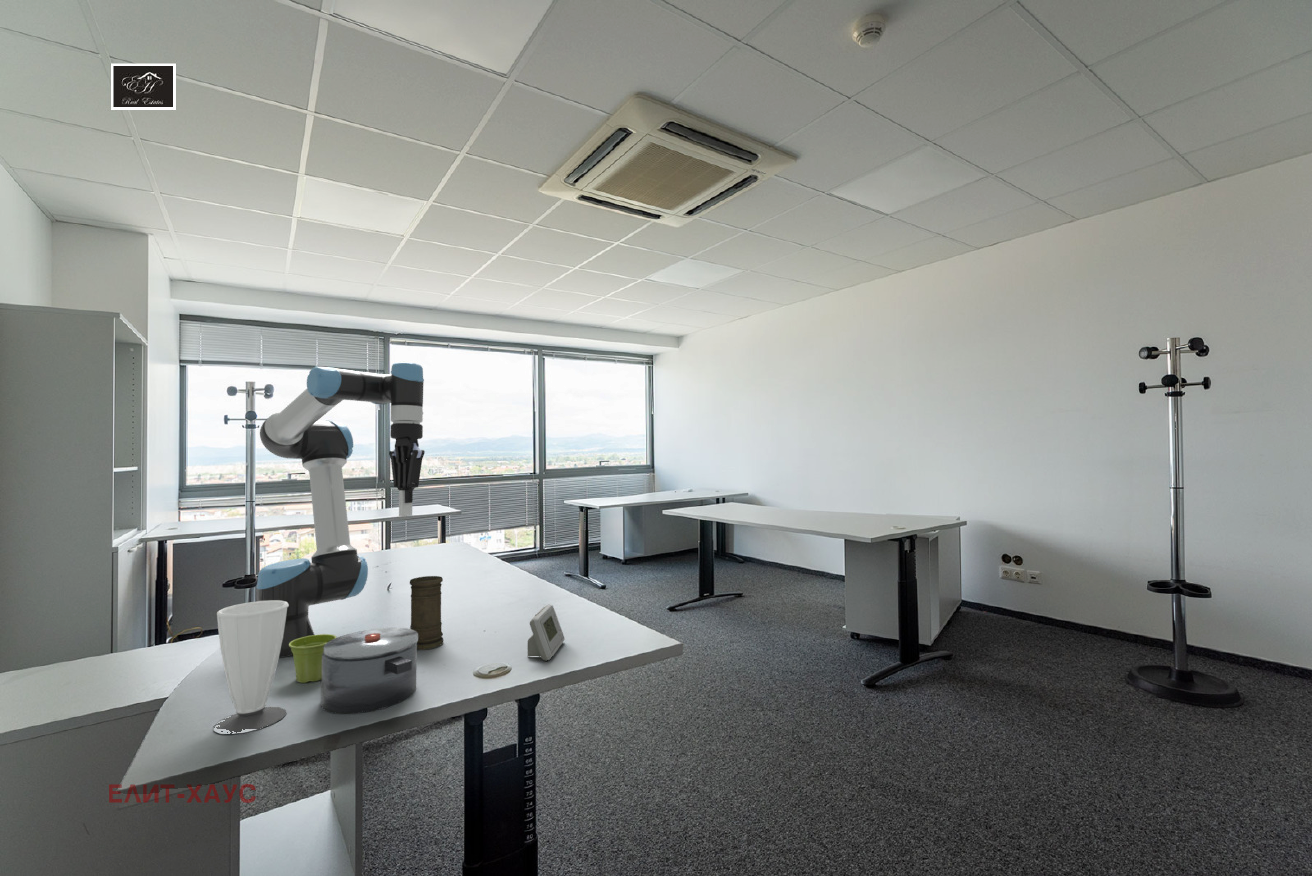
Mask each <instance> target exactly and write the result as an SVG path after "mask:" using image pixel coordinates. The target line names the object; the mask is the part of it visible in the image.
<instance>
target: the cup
mask: <svg viewBox="0 0 1312 876" xmlns="http://www.w3.org/2000/svg"><path fill="white" fill-rule="evenodd" d="M288 606H289V604H288V603H287V602H286V601H279V600H269V601H257V600H256V601H251V602H244V603H238V604H234V605H231V606H225V607H224V608H222V609H220V610H218V611H217V612H216V618H217V619H216V620H217V629H218V637H219V639H218V640H219V646H220V648H219V649H220V654H221V659H222V664H223V665H222V666H223V669H224V675H225V680H226V684H227V687H228V691H229V696H230V698H231V701H232V704H233V706H234V707H233V708H234V710H235V713H234V714H231V715H230V716H231V717H229V718H226V717H225V718H226V719H225V718H223V719H222V720H225V721H223V722H220V723H218V722H217V723H218V724H217V723H216V724H215V725H220V727H219V726H218V727H216V728H217V729H226V730H229V731H230V732H231V733H230V734H232V733H233V732H232V731H234V732H236V733H237V732H241V731H242V729H243V730H245V729H260V728H262V727H265V726H267V725H270V726H272V724H273V725H274V723H275V722H276V723H278V722H279V721H278V720H280V721H281V719H282V718H283V719H284V717H285V716H286V715H287V710H286V709H285V708H282V707H279V706H267V701H268V698H269V695H270V693H271V691H272V687H273V683H274V680H275V675H276V670H277V667H278V664H279V659H280V658H279V654H280V650H281V645H282V640H283V634H284V627H285V621H286V613H287V607H288ZM277 721H278V722H277ZM276 723H275V724H276ZM213 727H214V726H213ZM214 728H215V727H214ZM265 728H266V727H265ZM262 729H263V728H262ZM260 730H261V729H260ZM221 732H223V731H221ZM227 733H228V732H227Z"/></svg>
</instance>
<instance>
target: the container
mask: <svg viewBox="0 0 1312 876" xmlns="http://www.w3.org/2000/svg"><path fill="white" fill-rule="evenodd" d="M443 580H444V579H443V577H442V576H439V575H438V576H437V575H426V576H425V575H424V576H419V577H415V578H414V577H413V578H411V579H410V580H409V585H410V590H411V591H410V593H411V594H410V610H411V611H410V627H409V629H412V630H414V631H416V632H417V633H418V642H417V651H425V650H426V651H427V650H432V649H435V648H437V647H440V646H441V645H444V638H443V635H444V633H443V632H442V624H443V623H442V591H441V590H442V585H443V583H442V582H443Z"/></svg>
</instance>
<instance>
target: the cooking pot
mask: <svg viewBox="0 0 1312 876" xmlns="http://www.w3.org/2000/svg"><path fill="white" fill-rule="evenodd" d="M417 653H418V650H417V643H416V644H415V645H414V646H412V647H410V648H408V649H406V650H404V651H401V652H398V653H394V654H391V655H387V656H382V657H377V658H371V659H362V660H335V659H330V658H327V657H326V656H324V652H323V653H322V676H321V681H320V684H321V688H320V707H321V709H323V710H324V711H325V712H327V713H331V714H338V715H352V714H353V715H354V714H362V713H369V712H374V711H379V710H383V709H386V708H389V707H393V706H394V705H397V704H400V703H401V702H403V701H405V700H407V699H409V698H410V697H411V696H413V695H414V693H416V690H417V668H418V667H417V665H418V664H417V663H418V662H417V658H418V657H417V656H418V654H417Z"/></svg>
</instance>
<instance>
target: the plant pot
mask: <svg viewBox="0 0 1312 876" xmlns="http://www.w3.org/2000/svg"><path fill="white" fill-rule="evenodd" d="M337 637H338V636H336V635H335V634H330V633H329V634H328V633H324V634H323V633H322V634H315V635H312V636H306V637H302V638H299V639H296V640H293V641H291V642H290V643H289V647H291V651H292V653H293V655H292V656H293V664H294V672H295V673H294V674H295V681H296V682H298V683H301V684H306V683H308V682H318V681H320V680H321V676H322V653H323V652H324V645H325V644H326V643H327V642H329V641H331V640H333V639H335V638H337Z"/></svg>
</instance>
